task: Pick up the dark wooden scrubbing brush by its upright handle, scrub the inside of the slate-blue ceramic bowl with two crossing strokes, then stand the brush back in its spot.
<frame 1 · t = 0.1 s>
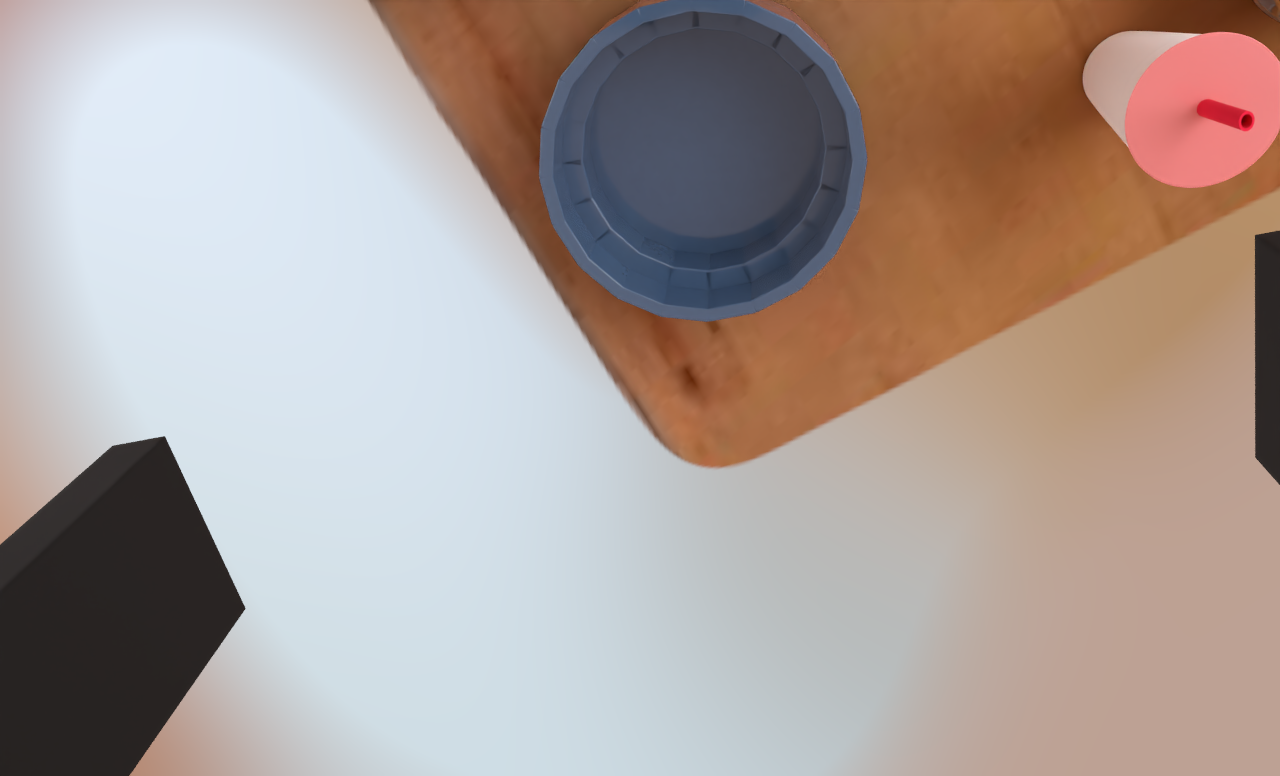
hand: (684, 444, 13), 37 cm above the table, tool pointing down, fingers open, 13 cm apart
bowl: (705, 140, 48), on the table
cup: (1122, 71, 45), on the table
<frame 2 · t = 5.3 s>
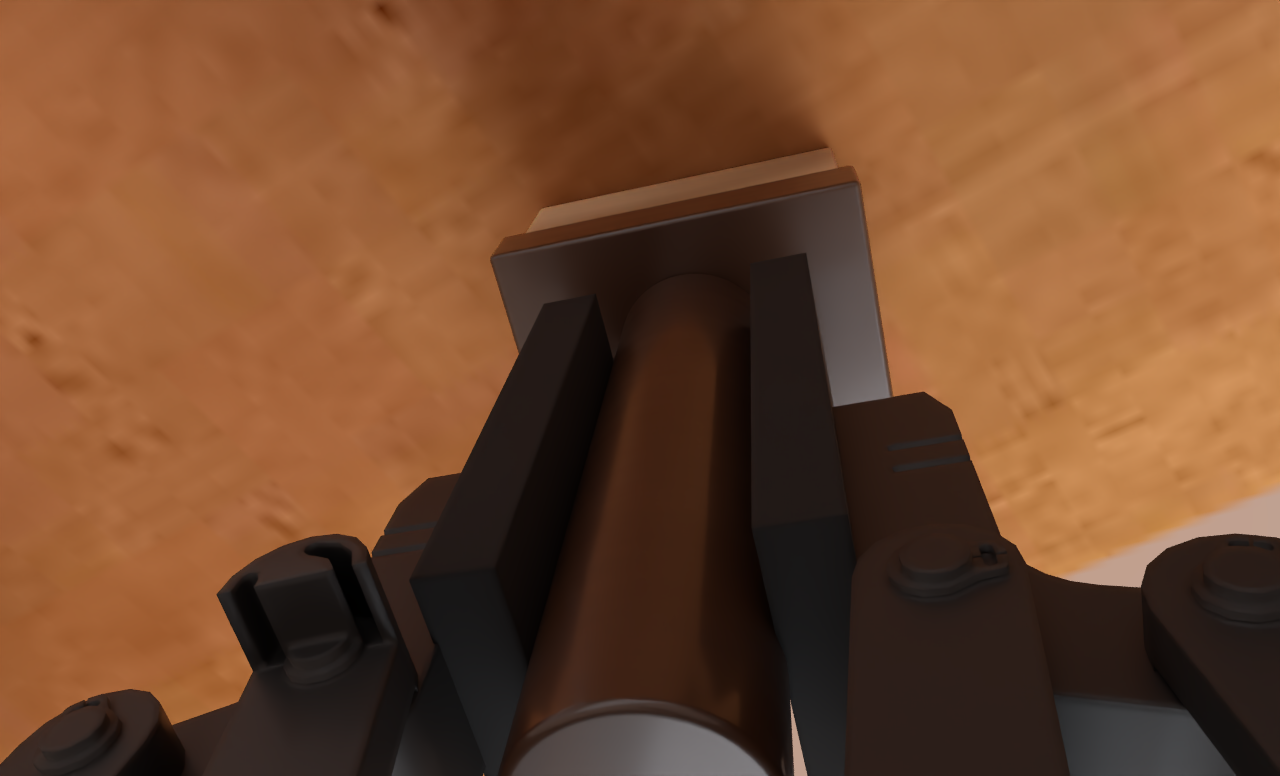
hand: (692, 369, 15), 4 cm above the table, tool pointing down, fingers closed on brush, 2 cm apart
brush: (703, 275, 18), on the table, touching gripper
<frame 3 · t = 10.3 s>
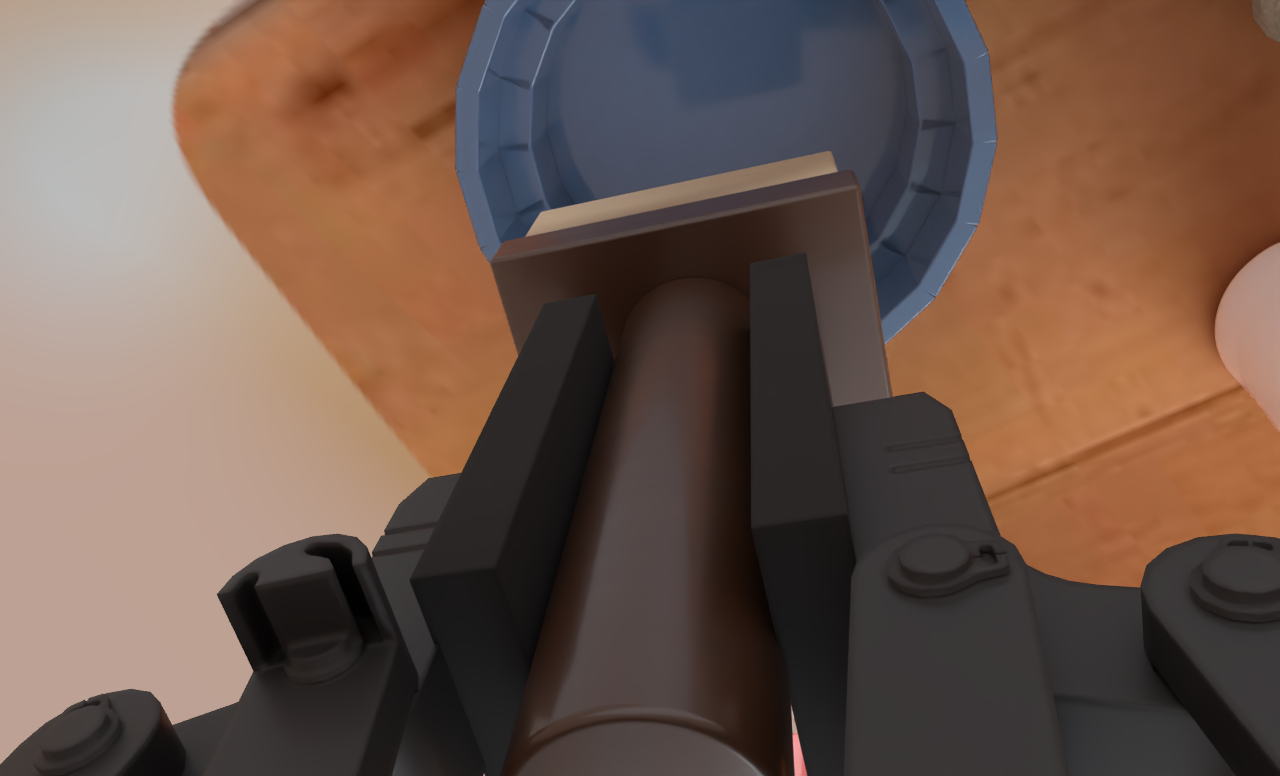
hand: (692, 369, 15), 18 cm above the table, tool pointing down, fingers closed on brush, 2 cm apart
bowl: (723, 113, 31), on the table
brush: (703, 278, 18), point 14 cm above the table, touching gripper
cup: (795, 610, 39), on the table
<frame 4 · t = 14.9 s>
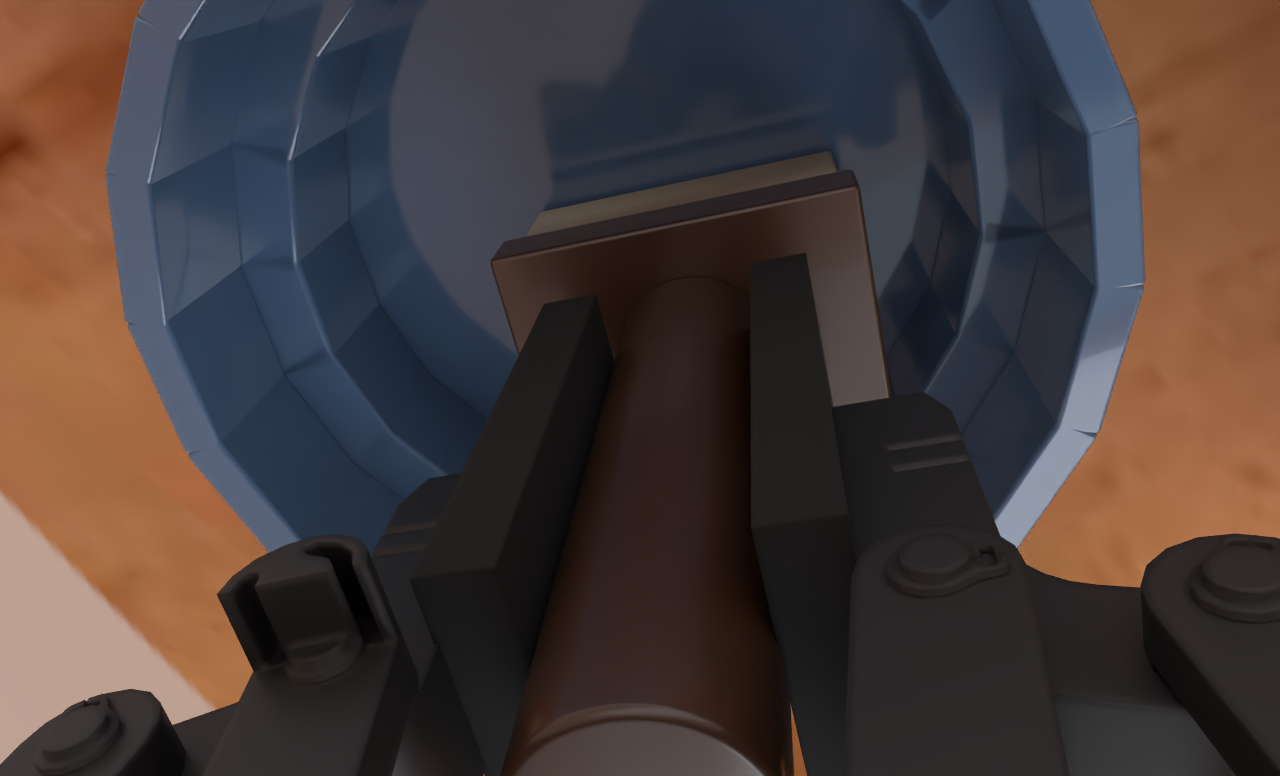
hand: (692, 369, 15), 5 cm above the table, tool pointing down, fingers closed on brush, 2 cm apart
bowl: (643, 195, 19), on the table
brush: (703, 278, 18), point 1 cm above the table, touching gripper
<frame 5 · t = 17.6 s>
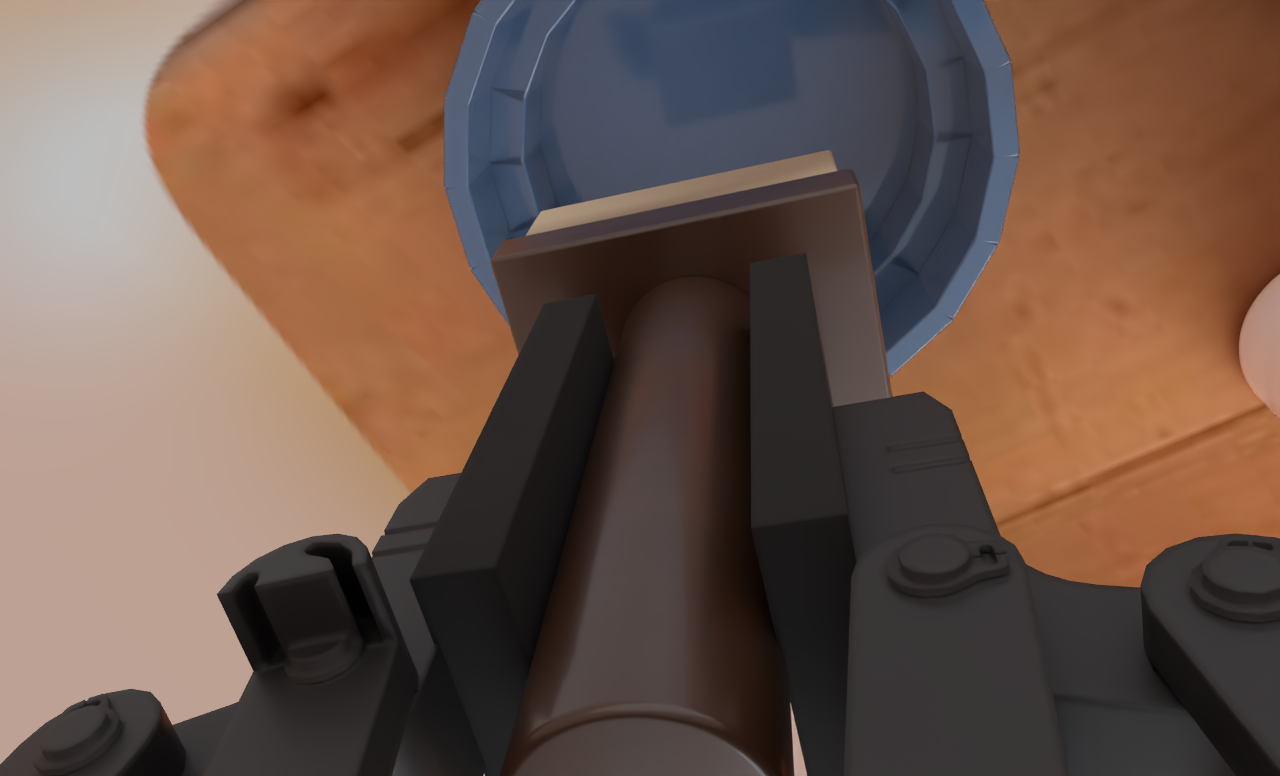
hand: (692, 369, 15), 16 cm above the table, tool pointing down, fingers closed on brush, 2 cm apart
bowl: (726, 124, 30), on the table
brush: (703, 277, 18), point 12 cm above the table, touching gripper
cup: (800, 638, 37), on the table
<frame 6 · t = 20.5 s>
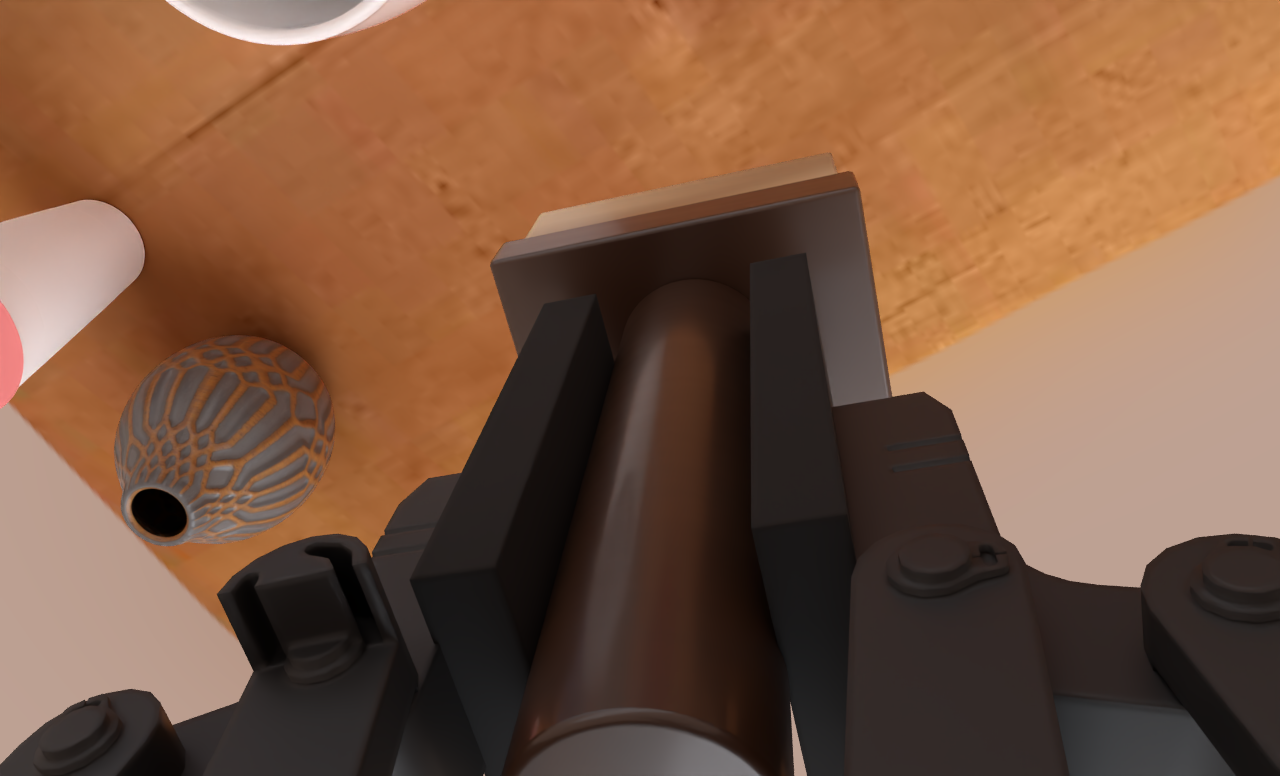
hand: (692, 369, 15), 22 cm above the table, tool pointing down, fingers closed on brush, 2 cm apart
vase: (272, 392, 41), on the table
brush: (703, 279, 18), point 18 cm above the table, touching gripper
cup: (103, 243, 39), on the table
when the fingers open (4 cm above the table, at t = 24.8 s): brush stays where it is, on the table.
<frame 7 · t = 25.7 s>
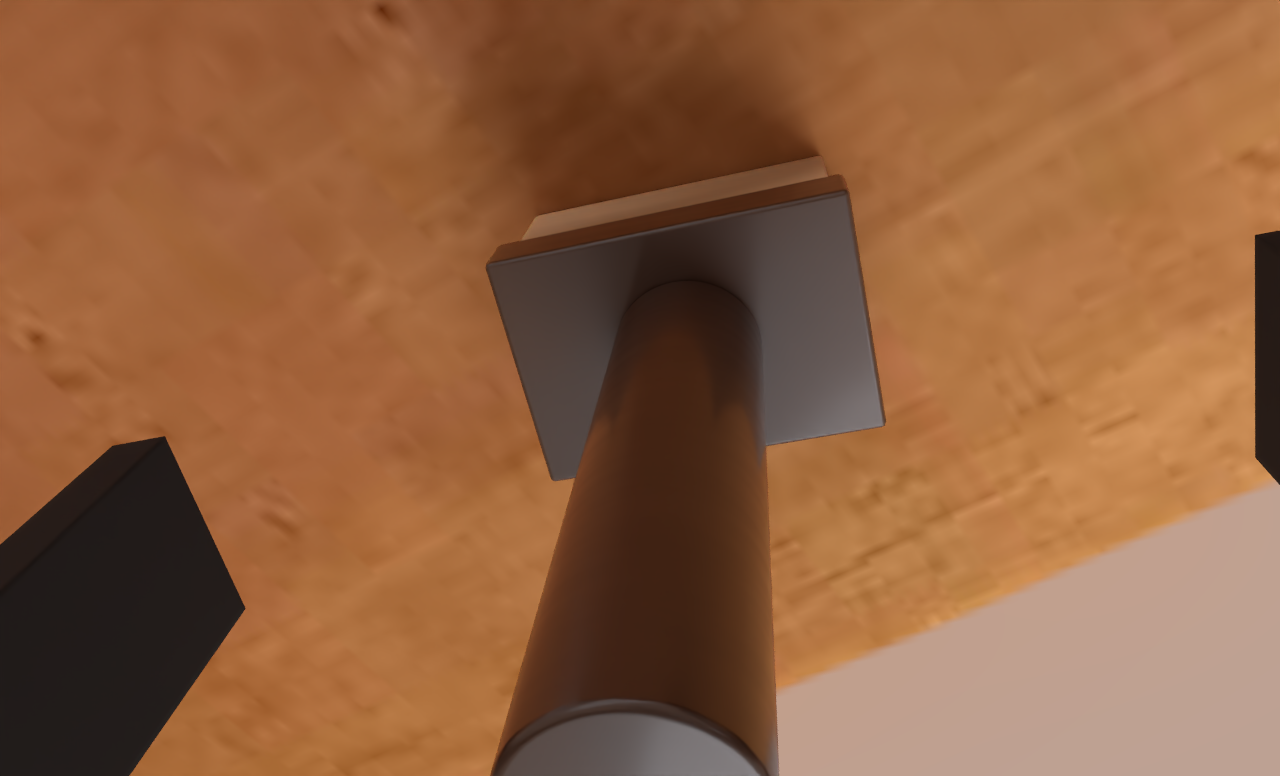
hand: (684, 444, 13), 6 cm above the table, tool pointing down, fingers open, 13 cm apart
brush: (696, 281, 19), on the table
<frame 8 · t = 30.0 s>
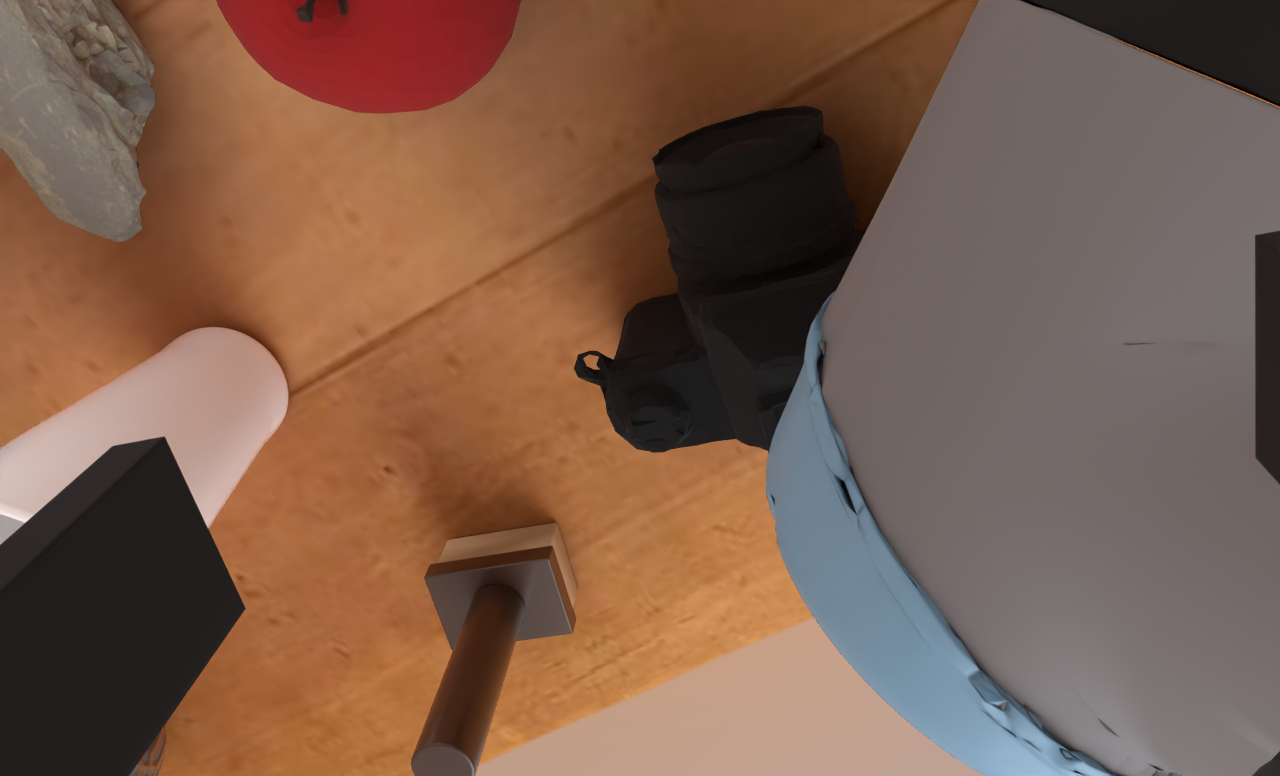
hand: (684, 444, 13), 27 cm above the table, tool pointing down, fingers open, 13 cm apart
film camera: (784, 236, 39), on the table
vase: (121, 706, 52), on the table
grey rock: (41, 28, 38), on the table
brush: (513, 564, 46), on the table
drinking glass: (233, 379, 44), on the table
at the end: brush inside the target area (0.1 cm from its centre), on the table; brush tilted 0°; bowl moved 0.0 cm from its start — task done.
